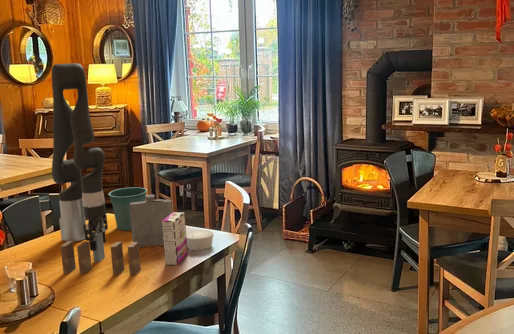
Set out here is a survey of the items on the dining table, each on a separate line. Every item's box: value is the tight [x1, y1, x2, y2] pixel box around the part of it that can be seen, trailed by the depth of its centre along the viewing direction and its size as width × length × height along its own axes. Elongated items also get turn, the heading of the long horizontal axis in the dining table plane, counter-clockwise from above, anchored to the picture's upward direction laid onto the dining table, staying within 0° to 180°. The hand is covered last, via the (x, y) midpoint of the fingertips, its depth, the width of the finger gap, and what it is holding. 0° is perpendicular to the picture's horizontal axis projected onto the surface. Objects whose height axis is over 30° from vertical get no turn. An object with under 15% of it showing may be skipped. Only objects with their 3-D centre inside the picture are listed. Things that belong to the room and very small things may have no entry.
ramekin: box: [186, 229, 214, 252], centre depth 201 cm, size 11×11×5 cm
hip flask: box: [130, 194, 173, 248], centre depth 205 cm, size 16×4×20 cm, turn 100°
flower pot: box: [108, 186, 148, 232], centre depth 229 cm, size 16×16×16 cm
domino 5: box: [127, 241, 142, 276], centre depth 178 cm, size 2×5×10 cm, turn 172°
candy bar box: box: [162, 211, 189, 266], centre depth 187 cm, size 11×5×16 cm, turn 168°
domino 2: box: [76, 240, 93, 275], centre depth 180 cm, size 2×5×10 cm, turn 172°
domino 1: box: [60, 241, 77, 275], centre depth 181 cm, size 2×5×10 cm, turn 172°
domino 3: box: [92, 232, 106, 263], centre depth 191 cm, size 2×5×10 cm, turn 172°
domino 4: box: [110, 241, 125, 276], centre depth 179 cm, size 2×5×10 cm, turn 172°
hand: (98, 246), depth 191 cm, fingers open, 7 cm apart
